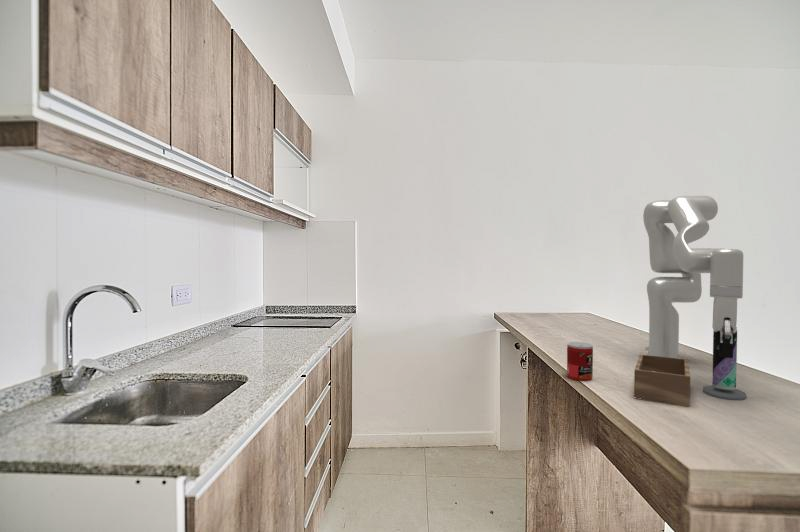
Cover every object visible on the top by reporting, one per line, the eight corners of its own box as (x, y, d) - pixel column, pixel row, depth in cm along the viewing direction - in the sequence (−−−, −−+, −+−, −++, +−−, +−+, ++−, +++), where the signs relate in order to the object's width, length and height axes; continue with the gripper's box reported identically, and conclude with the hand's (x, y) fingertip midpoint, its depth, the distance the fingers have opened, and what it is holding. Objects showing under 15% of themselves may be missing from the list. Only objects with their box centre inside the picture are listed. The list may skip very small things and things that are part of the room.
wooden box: (639, 378, 141) (639, 354, 141) (687, 385, 134) (688, 359, 134) (634, 398, 122) (634, 369, 122) (689, 406, 115) (690, 376, 115)
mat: (694, 389, 130) (694, 385, 130) (726, 388, 131) (726, 385, 131) (722, 400, 120) (722, 397, 120) (755, 399, 121) (755, 395, 121)
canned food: (581, 382, 137) (582, 347, 137) (561, 376, 144) (561, 343, 144) (598, 379, 141) (598, 345, 140) (577, 373, 148) (578, 340, 148)
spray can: (714, 388, 124) (715, 318, 124) (710, 383, 129) (712, 316, 128) (737, 391, 122) (739, 320, 121) (733, 385, 127) (735, 317, 126)
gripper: (707, 289, 134) (706, 347, 134) (712, 294, 119) (710, 359, 120) (738, 290, 130) (737, 350, 130) (746, 295, 115) (745, 363, 116)
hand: (724, 354), depth 125 cm, fingers closed on spray can, 5 cm apart
